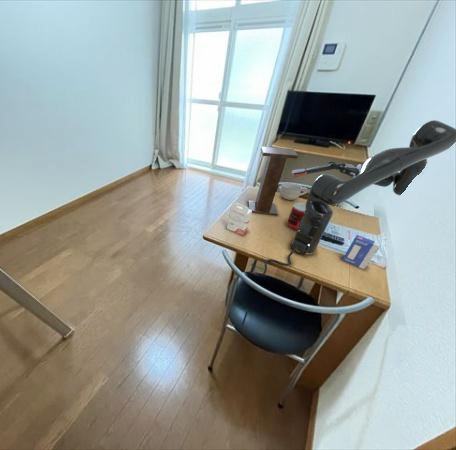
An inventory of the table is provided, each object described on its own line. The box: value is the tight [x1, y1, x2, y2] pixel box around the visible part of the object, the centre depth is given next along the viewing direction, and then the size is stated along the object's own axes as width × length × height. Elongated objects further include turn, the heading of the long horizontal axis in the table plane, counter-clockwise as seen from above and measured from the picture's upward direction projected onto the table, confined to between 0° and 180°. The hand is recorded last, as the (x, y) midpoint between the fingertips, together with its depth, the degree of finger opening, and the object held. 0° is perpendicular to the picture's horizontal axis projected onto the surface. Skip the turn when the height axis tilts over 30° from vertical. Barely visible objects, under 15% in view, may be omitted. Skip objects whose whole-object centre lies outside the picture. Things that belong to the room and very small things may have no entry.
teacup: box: [279, 181, 308, 201], centre depth 144 cm, size 14×11×8 cm
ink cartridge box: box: [226, 201, 252, 236], centre depth 115 cm, size 9×5×15 cm, turn 47°
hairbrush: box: [291, 161, 346, 178], centre depth 122 cm, size 22×5×2 cm, turn 73°
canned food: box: [286, 202, 306, 231], centre depth 119 cm, size 8×8×11 cm
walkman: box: [341, 234, 382, 270], centre depth 97 cm, size 8×3×12 cm, turn 45°
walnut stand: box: [247, 146, 299, 217], centre depth 127 cm, size 15×12×32 cm
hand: (329, 164), depth 119 cm, fingers closed on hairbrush, 2 cm apart
